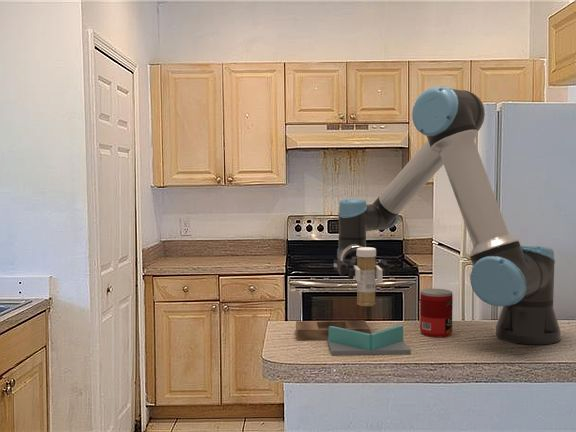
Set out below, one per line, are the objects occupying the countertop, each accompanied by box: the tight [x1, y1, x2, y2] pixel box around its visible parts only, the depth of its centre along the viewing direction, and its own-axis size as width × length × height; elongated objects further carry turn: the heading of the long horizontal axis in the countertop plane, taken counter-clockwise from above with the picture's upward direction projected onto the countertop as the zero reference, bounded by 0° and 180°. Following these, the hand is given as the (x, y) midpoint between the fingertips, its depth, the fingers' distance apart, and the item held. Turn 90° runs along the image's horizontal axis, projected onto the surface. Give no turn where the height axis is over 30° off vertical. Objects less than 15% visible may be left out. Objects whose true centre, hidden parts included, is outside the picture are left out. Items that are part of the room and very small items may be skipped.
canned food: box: [419, 288, 454, 338], centre depth 169 cm, size 8×8×11 cm
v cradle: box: [326, 324, 412, 356], centre depth 156 cm, size 18×12×4 cm, turn 91°
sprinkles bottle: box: [356, 246, 377, 307], centre depth 155 cm, size 5×5×14 cm
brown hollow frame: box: [295, 319, 371, 341], centre depth 168 cm, size 18×9×3 cm, turn 91°
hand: (369, 275), depth 150 cm, fingers closed on sprinkles bottle, 4 cm apart
